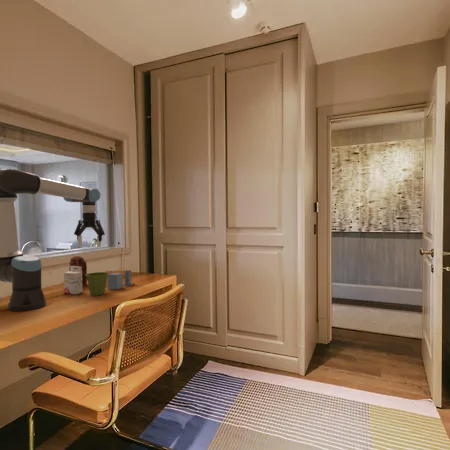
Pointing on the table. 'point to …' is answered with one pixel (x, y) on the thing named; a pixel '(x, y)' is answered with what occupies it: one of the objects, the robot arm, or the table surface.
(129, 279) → the post
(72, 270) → the ink cartridge box
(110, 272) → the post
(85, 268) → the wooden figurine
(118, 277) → the grey upright block
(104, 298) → the table surface
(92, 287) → the plant pot
